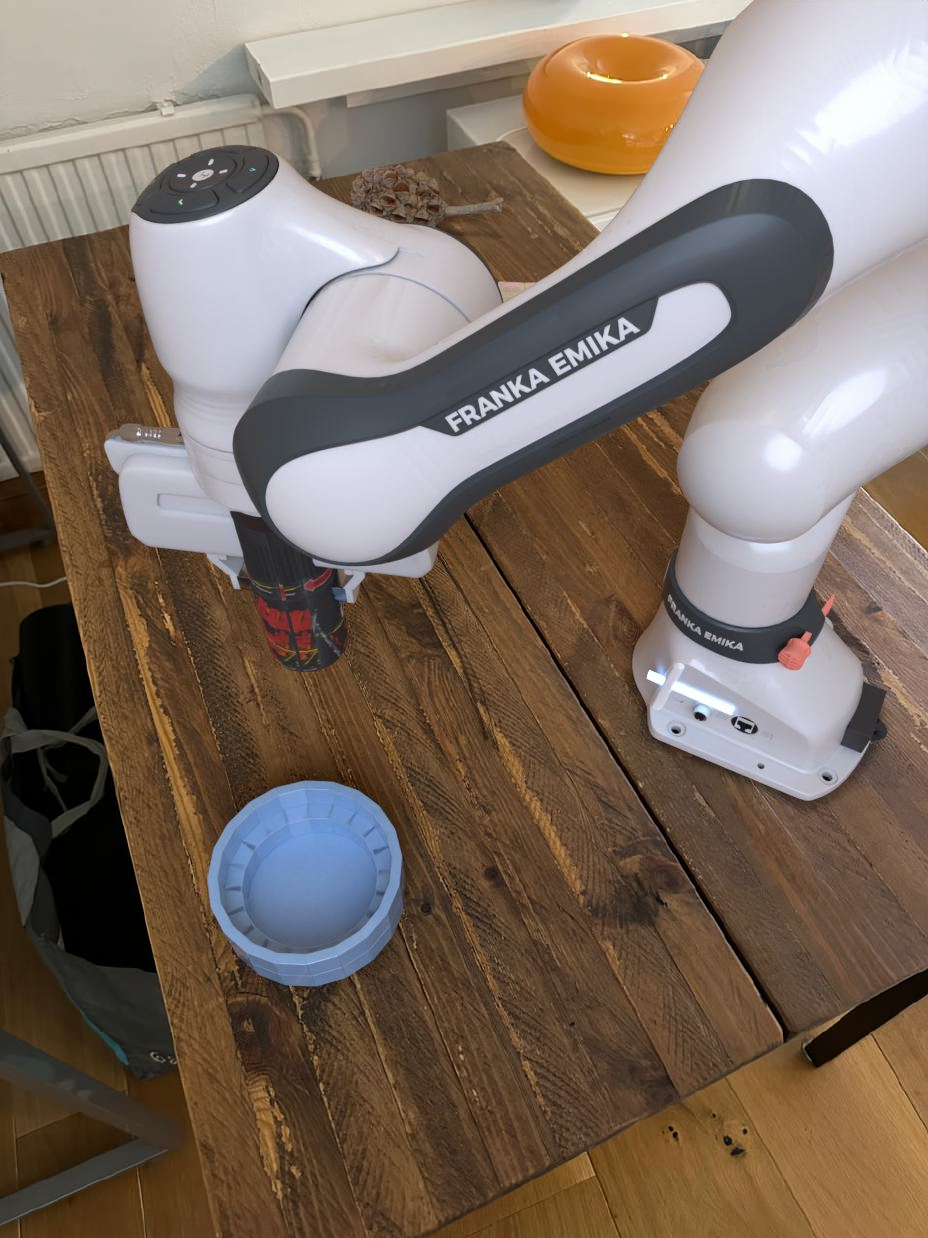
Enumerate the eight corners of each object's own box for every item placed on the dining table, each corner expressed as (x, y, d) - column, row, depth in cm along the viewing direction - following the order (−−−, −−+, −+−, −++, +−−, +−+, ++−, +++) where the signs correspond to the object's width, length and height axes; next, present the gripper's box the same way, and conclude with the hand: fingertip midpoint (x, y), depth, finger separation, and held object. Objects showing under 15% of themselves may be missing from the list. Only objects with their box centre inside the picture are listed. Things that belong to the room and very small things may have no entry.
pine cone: (352, 258, 133) (345, 189, 125) (352, 221, 139) (345, 153, 131) (509, 250, 134) (511, 182, 126) (502, 214, 139) (504, 147, 132)
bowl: (442, 882, 77) (440, 851, 73) (318, 1030, 70) (307, 1007, 66) (312, 782, 83) (303, 748, 78) (186, 911, 76) (167, 882, 71)
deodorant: (259, 624, 72) (217, 481, 60) (333, 599, 74) (306, 454, 62) (283, 683, 69) (243, 544, 57) (359, 655, 70) (337, 514, 58)
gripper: (74, 457, 55) (140, 606, 66) (423, 495, 53) (431, 642, 64) (115, 388, 58) (171, 539, 69) (442, 421, 56) (446, 571, 67)
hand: (298, 589), depth 66 cm, fingers closed on deodorant, 6 cm apart
